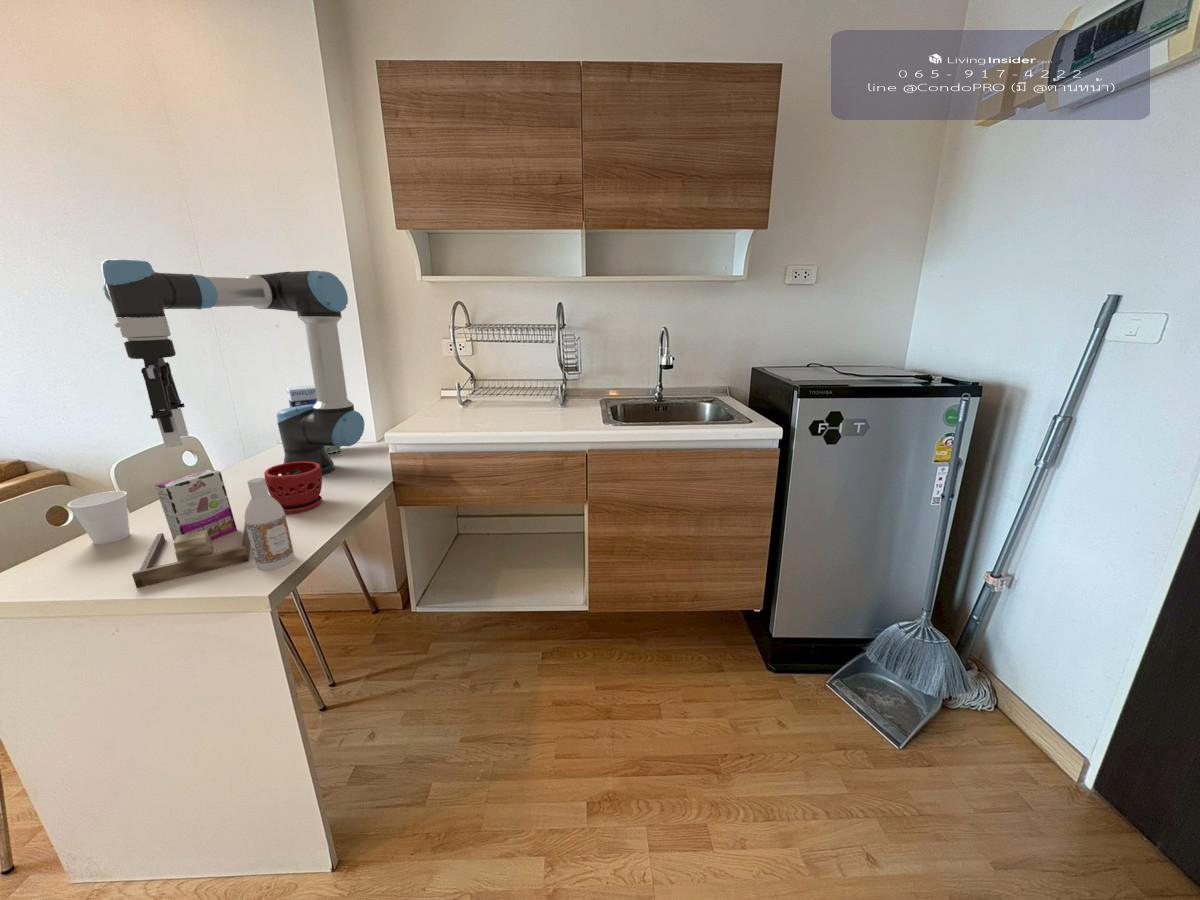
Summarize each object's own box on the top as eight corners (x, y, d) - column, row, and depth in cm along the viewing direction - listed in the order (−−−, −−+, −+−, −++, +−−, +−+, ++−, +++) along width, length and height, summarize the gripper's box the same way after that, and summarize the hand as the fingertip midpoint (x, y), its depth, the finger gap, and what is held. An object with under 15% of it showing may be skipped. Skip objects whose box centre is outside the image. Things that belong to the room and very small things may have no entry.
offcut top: (209, 537, 103) (206, 529, 102) (206, 545, 99) (204, 536, 99) (179, 544, 100) (176, 535, 99) (175, 551, 97) (173, 543, 96)
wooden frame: (252, 524, 121) (249, 510, 120) (249, 564, 102) (245, 548, 101) (160, 543, 111) (155, 528, 110) (138, 591, 92) (131, 574, 91)
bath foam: (268, 577, 97) (246, 488, 91) (250, 568, 100) (228, 482, 94) (302, 561, 103) (283, 477, 97) (284, 554, 106) (265, 472, 100)
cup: (114, 530, 118) (99, 490, 114) (151, 530, 117) (138, 490, 114) (70, 550, 108) (53, 507, 105) (111, 550, 108) (95, 507, 105)
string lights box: (302, 458, 173) (288, 390, 165) (299, 454, 178) (285, 387, 171) (341, 451, 181) (329, 386, 173) (337, 447, 186) (325, 383, 179)
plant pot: (280, 522, 122) (271, 479, 118) (267, 508, 130) (257, 468, 127) (334, 506, 131) (326, 466, 127) (318, 494, 139) (310, 457, 136)
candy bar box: (225, 528, 118) (208, 468, 113) (238, 531, 117) (222, 470, 112) (173, 549, 108) (153, 484, 103) (187, 553, 107) (167, 486, 102)
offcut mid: (212, 546, 104) (209, 536, 103) (212, 554, 100) (209, 544, 100) (179, 554, 101) (176, 544, 100) (178, 563, 97) (175, 552, 96)
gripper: (135, 336, 104) (164, 433, 111) (108, 342, 87) (144, 456, 94) (178, 335, 108) (204, 428, 115) (162, 340, 91) (192, 449, 98)
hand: (177, 441), depth 104 cm, fingers open, 9 cm apart
